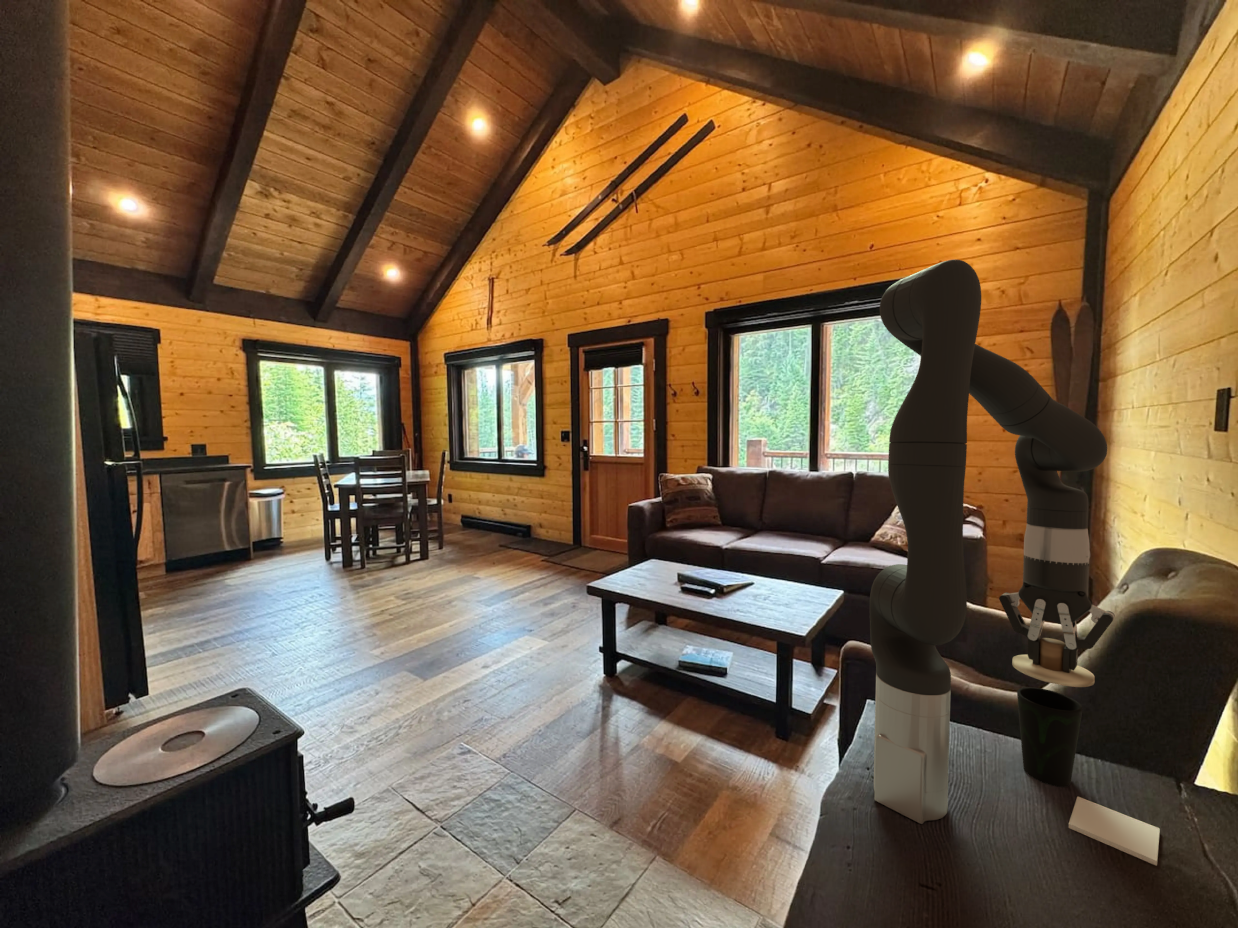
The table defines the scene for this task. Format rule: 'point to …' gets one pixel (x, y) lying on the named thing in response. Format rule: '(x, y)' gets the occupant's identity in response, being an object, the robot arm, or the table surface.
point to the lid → (1053, 666)
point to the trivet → (1116, 830)
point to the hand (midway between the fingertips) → (1052, 666)
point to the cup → (1048, 734)
